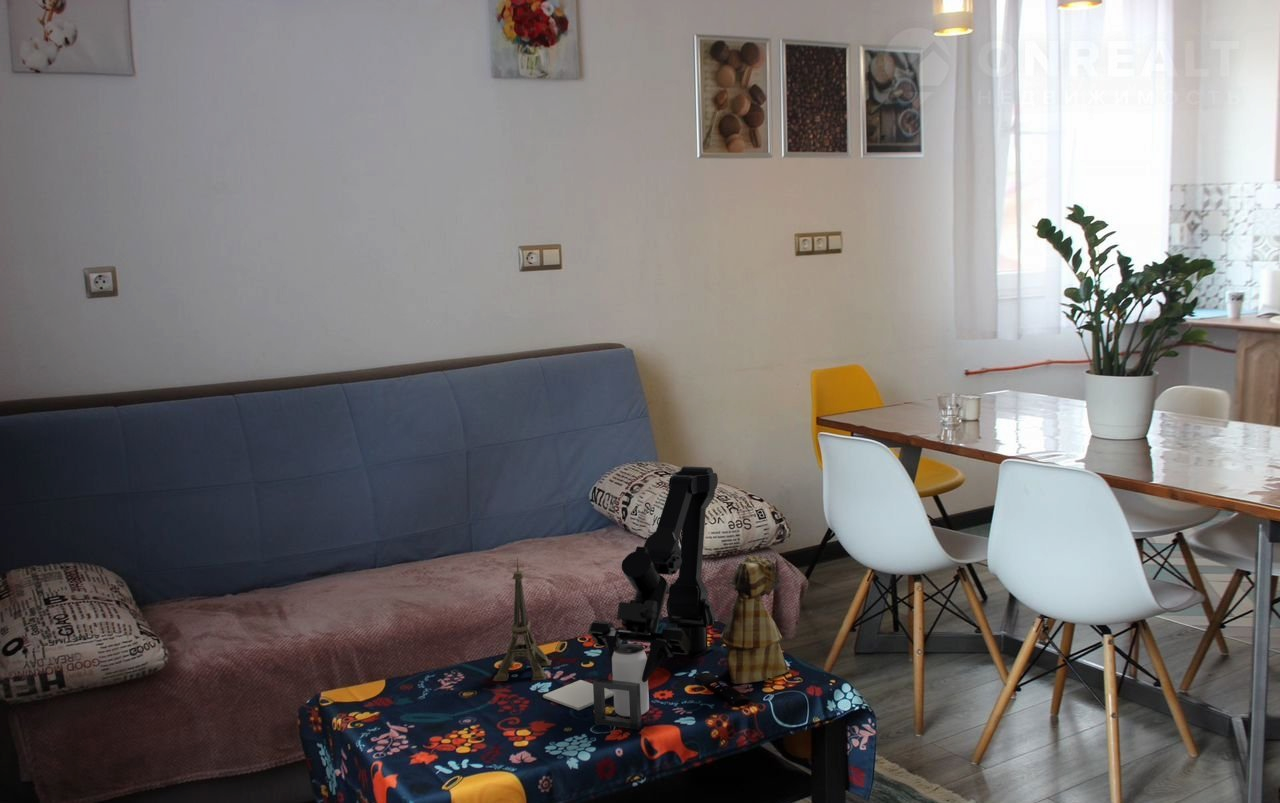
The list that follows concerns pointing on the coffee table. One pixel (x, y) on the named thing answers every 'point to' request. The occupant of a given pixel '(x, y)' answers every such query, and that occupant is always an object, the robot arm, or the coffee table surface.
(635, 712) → the dark grey square frame
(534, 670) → the eiffel tower
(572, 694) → the pad
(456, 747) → the coffee table surface
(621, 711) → the can
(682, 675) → the coffee table surface
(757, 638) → the plush toy
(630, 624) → the robot arm
